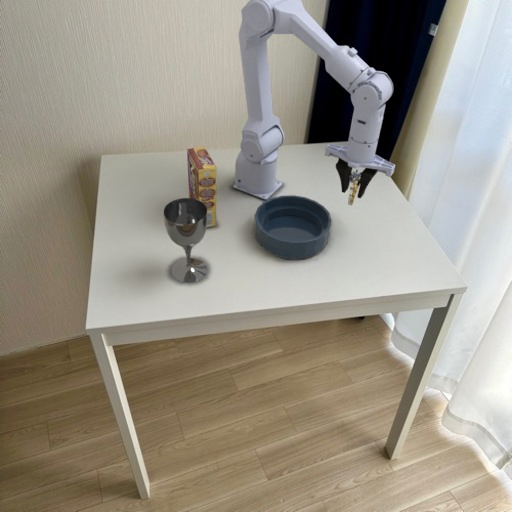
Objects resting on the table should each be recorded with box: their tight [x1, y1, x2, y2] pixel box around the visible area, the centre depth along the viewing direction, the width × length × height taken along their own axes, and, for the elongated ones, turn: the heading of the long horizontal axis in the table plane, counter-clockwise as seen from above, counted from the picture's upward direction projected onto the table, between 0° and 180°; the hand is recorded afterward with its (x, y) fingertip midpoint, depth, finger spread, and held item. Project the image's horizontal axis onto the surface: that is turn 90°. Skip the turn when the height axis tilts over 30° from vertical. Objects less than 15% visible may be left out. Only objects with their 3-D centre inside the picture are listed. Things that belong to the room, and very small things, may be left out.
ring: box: [347, 168, 362, 207], centre depth 111 cm, size 7×3×8 cm, turn 161°
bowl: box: [253, 194, 333, 260], centre depth 112 cm, size 16×16×5 cm
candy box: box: [186, 146, 217, 228], centre depth 113 cm, size 9×4×15 cm, turn 20°
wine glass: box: [162, 197, 208, 284], centre depth 100 cm, size 8×8×15 cm
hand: (352, 192), depth 112 cm, fingers closed on ring, 3 cm apart
